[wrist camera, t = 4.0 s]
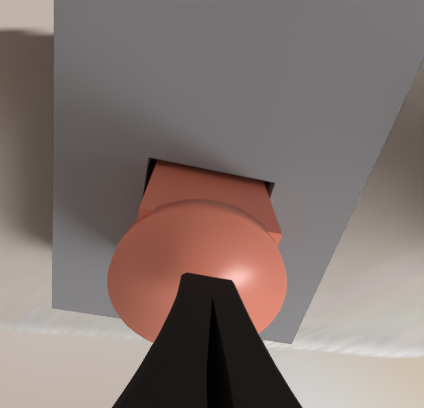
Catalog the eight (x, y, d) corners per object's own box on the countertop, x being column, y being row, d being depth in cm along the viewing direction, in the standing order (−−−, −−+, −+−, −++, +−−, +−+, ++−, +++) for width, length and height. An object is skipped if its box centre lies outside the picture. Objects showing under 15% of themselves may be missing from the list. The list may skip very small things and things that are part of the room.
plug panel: (513, -305, 10) (671, -477, 7) (277, 290, 21) (291, 344, 18) (117, -458, 9) (59, -768, 6) (80, 258, 20) (52, 308, 16)
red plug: (281, 169, 14) (312, 232, 10) (245, 275, 16) (259, 361, 12) (145, 141, 13) (115, 194, 9) (129, 255, 16) (101, 339, 12)
